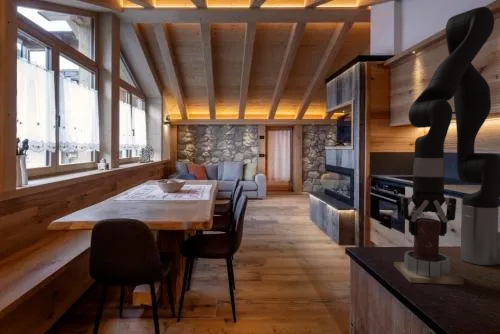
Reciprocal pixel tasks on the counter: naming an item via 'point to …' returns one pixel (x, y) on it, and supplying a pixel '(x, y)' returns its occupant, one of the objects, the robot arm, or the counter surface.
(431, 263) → the collar
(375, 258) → the counter surface
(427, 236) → the can
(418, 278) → the stand
